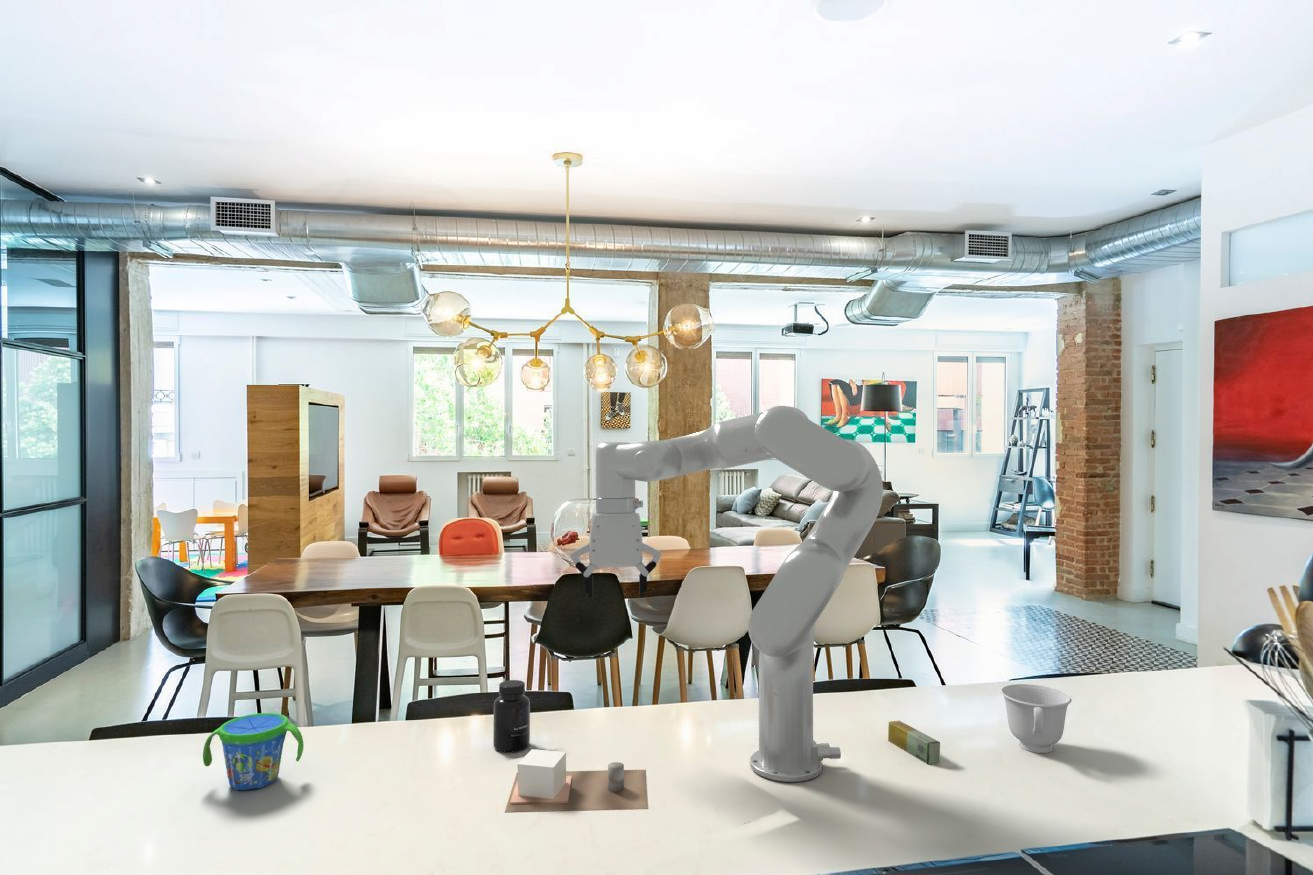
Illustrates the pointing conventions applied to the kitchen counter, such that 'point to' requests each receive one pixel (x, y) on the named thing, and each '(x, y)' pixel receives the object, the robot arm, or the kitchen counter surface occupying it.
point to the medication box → (914, 742)
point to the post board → (589, 792)
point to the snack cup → (253, 748)
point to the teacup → (1035, 715)
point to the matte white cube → (542, 773)
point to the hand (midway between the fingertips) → (616, 596)
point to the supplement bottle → (511, 717)
